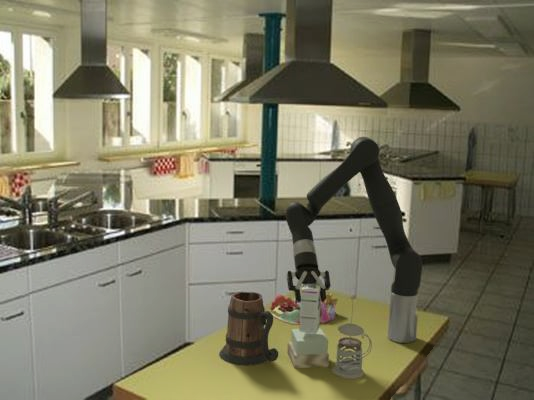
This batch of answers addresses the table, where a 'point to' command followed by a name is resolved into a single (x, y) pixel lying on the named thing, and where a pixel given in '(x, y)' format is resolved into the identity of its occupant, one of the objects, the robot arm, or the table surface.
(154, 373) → the table surface
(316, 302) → the syrup box
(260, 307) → the tankard
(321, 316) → the candy dessert plate
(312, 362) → the tower bottom block
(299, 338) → the tower top block
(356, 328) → the french press
